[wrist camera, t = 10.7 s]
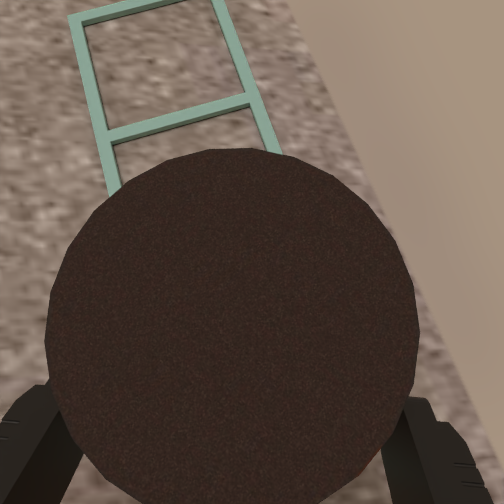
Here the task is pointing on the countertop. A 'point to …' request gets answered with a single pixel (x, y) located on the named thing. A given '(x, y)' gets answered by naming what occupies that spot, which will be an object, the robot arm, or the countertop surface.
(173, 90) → the countertop surface
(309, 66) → the countertop surface
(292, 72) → the countertop surface
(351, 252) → the deodorant
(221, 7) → the track
